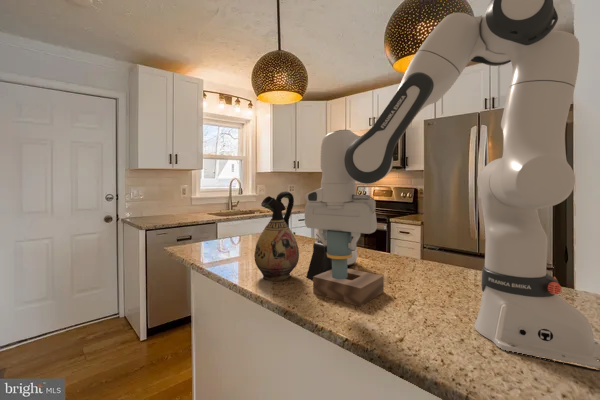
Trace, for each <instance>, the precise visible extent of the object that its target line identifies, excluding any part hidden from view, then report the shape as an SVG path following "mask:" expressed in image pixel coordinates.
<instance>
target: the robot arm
mask: <svg viewBox="0 0 600 400" xmlns="http://www.w3.org/2000/svg"><path fill="white" fill-rule="evenodd" d="M554 5H555V4H554V0H490V2H489V4H488V5H487V8H486V11H485V13H484V15H478V16H472V15H470V14H468V13H465V12H453V13H450V14H448V15H446V16H445V17H444V18H443V19H441V20H440V22H439V23H438V24H436V26H435V27H434V29H432V30H431V32H430V33H429V34H428V35H427V37H426V39H425V40H424V41H423V42H422V44H421V45H420V47H419V48H418V49H417V51H416V52H415V54H414V55H413V57H412V59H411V61H410V63H409V64H408V66H407V68H406V71H405V72H404V75H403V76H402V79H401V80H400V81H401V82H400V84H399V85H398V88H397V89H396V92H395V93H394V95H393V97H392V98H391V99H390V101H389V103H388V104H387V105H386V107H385V108H384V109H383V111H382V113H380V115H379V117H378V118H377V120H376V121H375V123H373V125H372V126H371V128H370V129H369V130H368V131H367V132H364V134H363V135H362V134H361V136H360V135H358V134H356V133H355V132H354V131H352V130H350V129H339V130H338V129H337V130H333V131H331V132H329V133H327V134H326V135H325V136H323V138H322V141H321V145H320V170H321V173H322V174H321V179H320V180H321V181H320V188H318V189H314V190H311V191H310V192H308V193H306V194H305V201H306V204H305V206H304V224H305V227H306V228H308V229H315V230H316V229H319V234H320V236H321V238H322V240H323V246H327V234H326V233H327V231H328V230H334V231H344V232H351V236H352V237H353V239H352V241H351V242H349V243H348V249H349V250H356V247H357V243H358V241H359V239H360V237H361V234H364V235H365V234H368V235H370V234H373V233H375V232H376V231H377V230H378V229H377V228H378V223H377V213H376V208H377V207H376V205H377V204H376V203H377V201H376V199H374V198H373V196H371V195H370V194H369V195H368V194H364V195H363V194H356V193H357V192H356V182H358V183H360V184H367V185H368V184H373V183H376V182H379V181H380V180H382V179H385V178H386V177H387V176H388V174H390V172H391V171H392V169H393V167H394V157H393V156H394V155H393V154H394V151H395V148H396V145H397V144H398V143H399V141H400V139H401V138H402V137H403V135H404V134H405V133H406V131H407V130H408V128H409V126H410V125H411V124H412V122H413V121H414V120H415V118H416V116H417V115H418V114H419V113H420V112H421V111H422V110H424V108H426V107H427V106H429V105H433V104H435V103H437V102H438V101H440V100H441V98H442V97H444V96H445V94H447V92H448V91H449V90H450V89H451V88H452V87H453V86H454V84H455V83H456V81H457V80H458V79H459V77H460V76H461V74H462V72H463V71H464V70H465V68H466V66H467V65H468V64H469V63H470V62H472V63H478V64H479V63H480V64H483V65H487V66H493V67H500V66H504V65H507V64H509V63H511V67H512V73H511V74H512V76H511V78H510V83H509V87H508V90H507V94H506V99H505V104H504V108H503V112H502V116H501V117H502V118H501V121H500V129H501V131H502V139H503V143H502V144H503V147H502V157H500V158H496V159H493V160H492V161H490V162H489V163H488V164H486V165H485V166H484V167H482V169H480V171H479V173H478V176H477V180H476V181H477V182H476V184H477V185H476V186H477V188H478V190H479V193H480V194H479V195H480V201H481V209H482V215H483V222H484V231H485V243H484V244H485V246H484V250H485V251H484V252H485V253H484V265H483V266H482V269H481V278H480V279H481V280H480V281H481V291H482V296H481V300H480V307H479V310H478V313H477V317H476V320H475V322H474V323H473V324H474V328H475V330H476V331H477V332H478V334H480V335H482V336H484V338H486V339H488V340H490V341H492V342H493V344H494V345H496V346H497V347H498V348H501V350H502V351H505V350H506V351H505V352H509V351H512V352H511V353H514V352H517V353H516V354H518V353H522V354H521V355H523V354H527V355H533V356H539V357H545V358H549V359H556V360H561V361H565V362H573V363H577V364H581V365H587V366H590V367H595V368H600V340H599V339H597V338H595V335H594V331H593V329H592V326H591V323H590V321H589V320H588V318H587V316H586V315H585V314H583V312H581V311H580V310H579V309H577V308H576V307H575V306H573V305H572V304H570V303H569V302H568V301H567V300H566V299H564V298H563V297H562V296H560V293H561V291H562V289H561V288H562V286H561V285H560V283H559V281H558V279H557V278H556V276H551V275H550V274H548V273H547V263H548V245H549V243H548V235H547V233H546V232H545V229H544V228H543V225H542V223H541V220H540V216H539V209H545V208H550V207H554V206H557V205H558V204H560V203H562V202H564V201H565V200H566V199H567V198H568V197H569V196H570V195H571V194H572V192H573V191H574V187H575V183H576V178H575V173H574V170H573V168H572V167H571V165H570V164H569V163H568V161H567V160H568V159H567V154H566V153H567V152H566V127H567V123H568V122H567V120H568V116H569V112H570V108H571V103H572V100H573V96H574V91H575V89H576V83H577V78H578V73H579V64H580V42H579V39H578V38H577V36H576V35H574V34H573V33H572V32H568V31H564V30H555V29H554V28H555V26H556V25H557V23H558V20H559V15H558V12H557V10H556V8H555V6H554ZM527 355H526V356H527ZM597 360H599V361H597Z"/></svg>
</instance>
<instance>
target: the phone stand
mask: <svg viewBox="0 0 600 400" xmlns="http://www.w3.org/2000/svg"><path fill="white" fill-rule="evenodd" d="M312 245H313V246H312V254H311V259H310V262H309V265H308V266H309V267H308V270H307V273H306V278H307V279H309V280H312V281H313V276H316V275H319V274H321V273H324V272H326V271H329V270H331V269H332V258H328V257H327V246H323V243H320V242H316V241H315V242H314V243H313V244H312Z"/></svg>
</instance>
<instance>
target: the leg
mask: <svg viewBox="0 0 600 400" xmlns="http://www.w3.org/2000/svg"><path fill="white" fill-rule="evenodd" d="M351 241H352V236H351V232H344V231H334V230H328V231H327V257H328V258H332V277H333V278H335V279H346V278H347V277H348V274H347V268H348V266H347V259H348V258H351V257H352V250H349V249H348V243H349V242H351Z"/></svg>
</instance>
